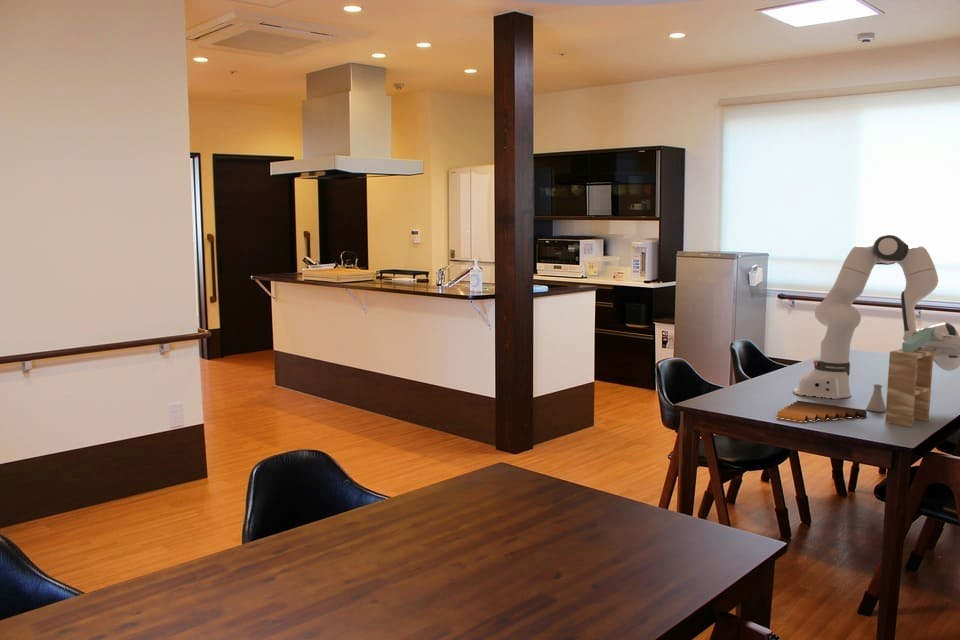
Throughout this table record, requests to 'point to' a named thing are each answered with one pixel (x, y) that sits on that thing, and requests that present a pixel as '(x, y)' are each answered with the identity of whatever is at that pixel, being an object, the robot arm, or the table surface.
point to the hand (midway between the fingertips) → (927, 332)
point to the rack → (909, 386)
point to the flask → (876, 400)
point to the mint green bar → (917, 340)
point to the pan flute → (818, 412)
